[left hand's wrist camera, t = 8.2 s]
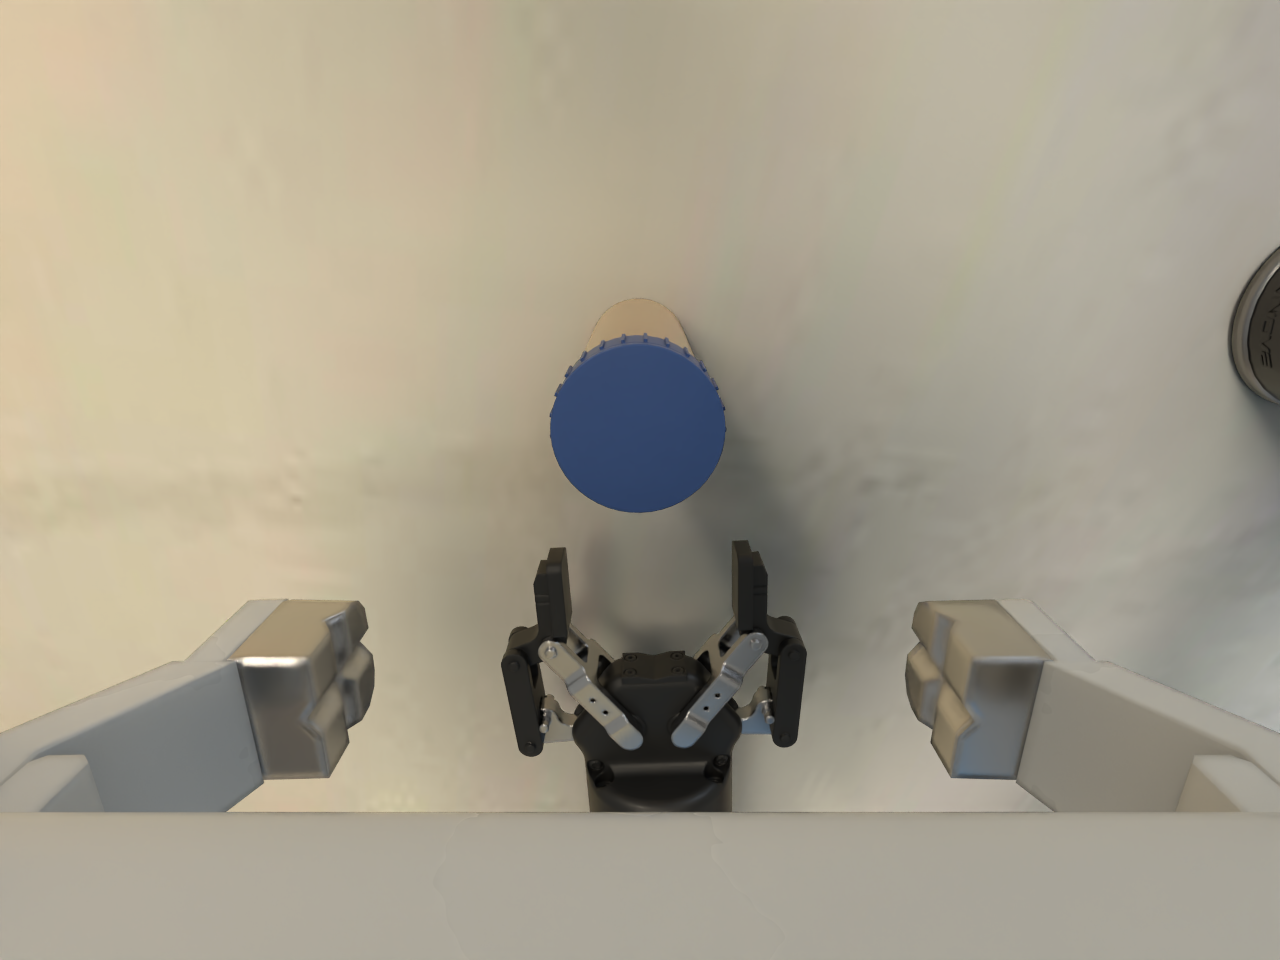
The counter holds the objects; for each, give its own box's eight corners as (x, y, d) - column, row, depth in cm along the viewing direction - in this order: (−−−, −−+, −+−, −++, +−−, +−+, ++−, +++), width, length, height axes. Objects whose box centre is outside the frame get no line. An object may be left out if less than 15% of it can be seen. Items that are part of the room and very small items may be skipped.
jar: (696, 378, 36) (733, 478, 22) (607, 404, 36) (587, 519, 22) (671, 285, 34) (693, 328, 20) (578, 314, 35) (536, 375, 20)
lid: (738, 469, 23) (747, 489, 21) (584, 512, 23) (580, 534, 22) (697, 310, 21) (702, 318, 19) (531, 361, 22) (521, 372, 20)
